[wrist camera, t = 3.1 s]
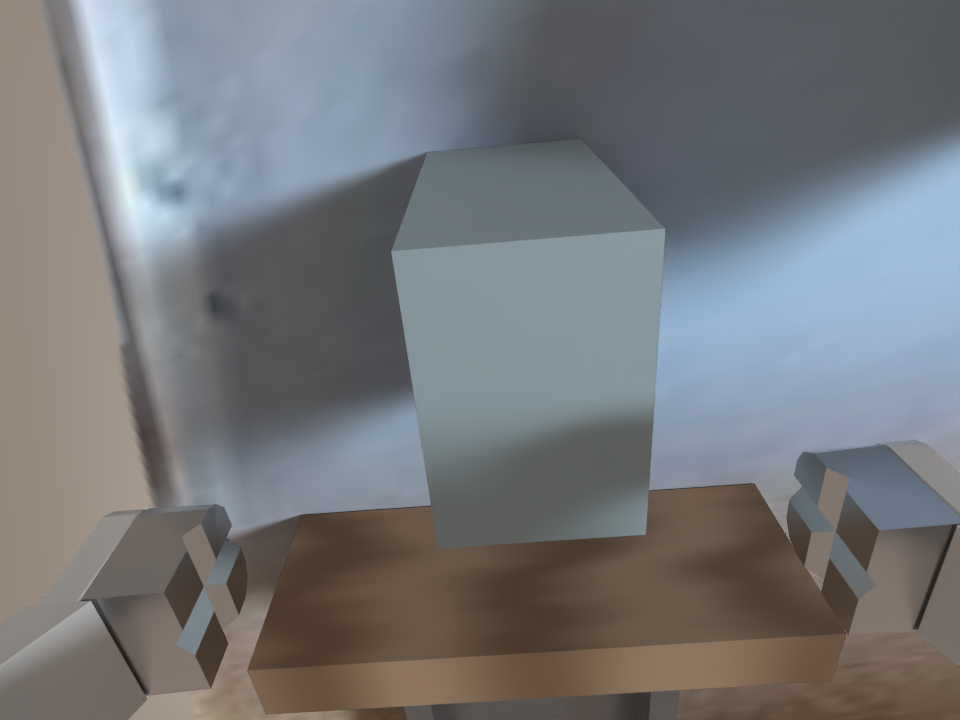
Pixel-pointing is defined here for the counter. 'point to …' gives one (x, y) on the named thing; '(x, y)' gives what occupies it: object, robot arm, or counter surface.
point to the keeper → (558, 708)
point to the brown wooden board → (541, 610)
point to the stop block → (531, 342)
